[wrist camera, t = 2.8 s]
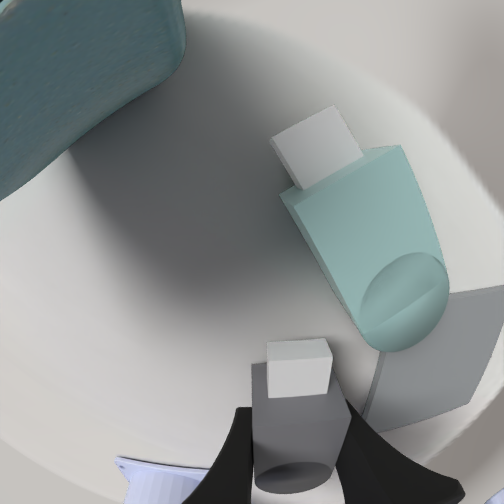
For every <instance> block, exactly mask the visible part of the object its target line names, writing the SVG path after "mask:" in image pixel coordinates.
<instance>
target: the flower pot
mask: <svg viewBox="0 0 504 504" xmlns="http://www.w3.org/2000/svg"><path fill="white" fill-rule="evenodd" d="M185 48H186V29H185V22H184V16H183V10H182V5H181V0H0V201H1V200H2V199H4V198H6V197H7V196H9V195H10V194H12V193H13V192H15V191H16V190H17V189H19V188H20V187H22V186H23V185H24V184H26V183H27V182H28V181H30V180H31V179H32V178H34V177H35V176H36V175H37V174H38V173H40V172H41V171H42V170H43V169H44V168H45V167H47V166H48V165H49V164H50V163H51V162H53V161H54V160H55V159H56V158H57V157H58V156H59V155H60V154H62V153H63V152H64V151H65V150H66V149H67V148H68V147H70V146H71V145H72V144H73V143H74V142H75V141H77V140H78V139H79V138H80V137H82V136H83V135H84V134H85V133H87V132H88V131H89V130H90V129H92V128H93V127H94V126H96V125H97V124H98V123H100V122H101V121H102V120H104V119H105V118H107V117H108V116H109V115H111V114H112V113H114V112H115V111H117V110H118V109H120V108H121V107H123V106H124V105H126V104H127V103H129V102H130V101H132V100H133V99H135V98H136V97H138V96H140V95H141V94H143V93H145V92H146V91H148V90H150V89H152V88H153V87H155V86H157V85H158V84H160V83H161V82H163V81H164V80H166V79H167V78H168V77H169V76H171V75H172V74H173V72H174V71H175V70H176V69H177V68H178V66H179V64H180V63H181V61H182V59H183V56H184V52H185Z"/></svg>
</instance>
